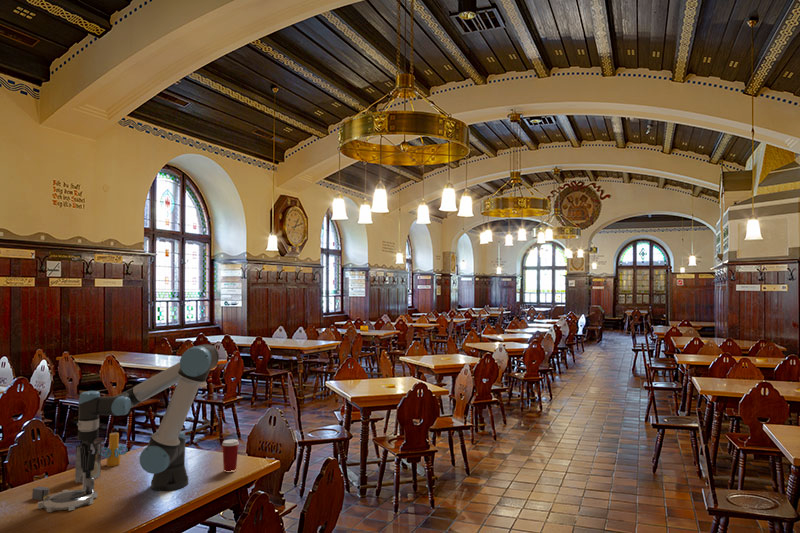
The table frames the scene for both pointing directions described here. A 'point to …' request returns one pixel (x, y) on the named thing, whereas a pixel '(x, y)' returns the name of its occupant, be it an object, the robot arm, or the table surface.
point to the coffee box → (97, 465)
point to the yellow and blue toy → (113, 450)
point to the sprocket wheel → (69, 498)
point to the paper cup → (230, 454)
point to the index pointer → (40, 492)
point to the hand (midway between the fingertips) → (86, 486)
